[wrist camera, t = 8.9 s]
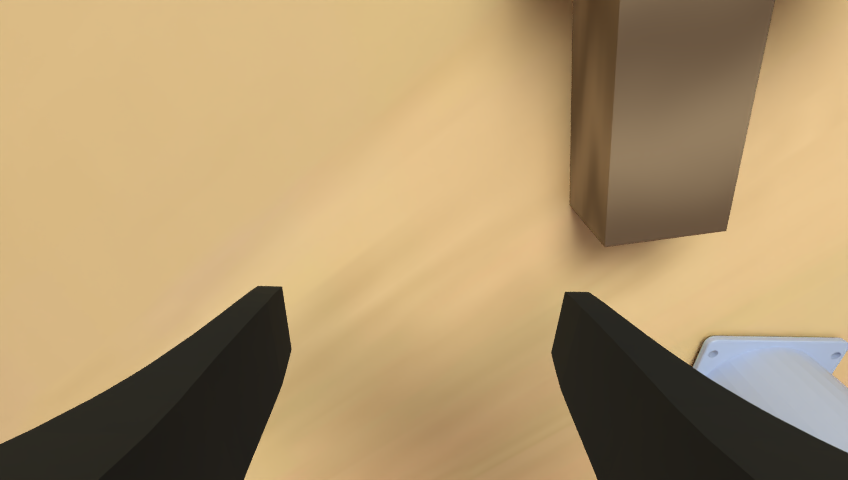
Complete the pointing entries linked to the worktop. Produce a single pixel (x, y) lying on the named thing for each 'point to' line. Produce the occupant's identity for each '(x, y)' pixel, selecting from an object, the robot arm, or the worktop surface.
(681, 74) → the brown wooden bar
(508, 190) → the worktop surface
